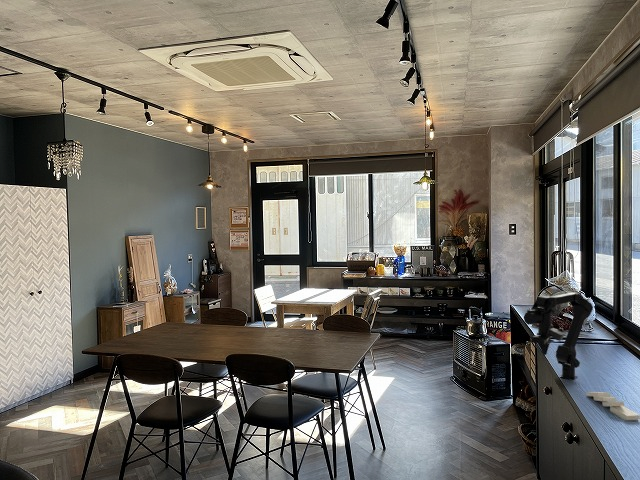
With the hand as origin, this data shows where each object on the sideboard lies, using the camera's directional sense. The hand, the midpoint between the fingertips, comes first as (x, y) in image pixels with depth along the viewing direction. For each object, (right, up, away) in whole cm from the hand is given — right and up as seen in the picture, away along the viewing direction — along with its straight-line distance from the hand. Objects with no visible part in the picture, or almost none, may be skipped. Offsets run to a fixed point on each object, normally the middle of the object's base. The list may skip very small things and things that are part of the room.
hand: (544, 354), depth 239 cm
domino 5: (+13, -14, -36) cm, 41 cm away
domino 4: (+12, -13, -38) cm, 41 cm away
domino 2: (+12, -13, -25) cm, 31 cm away
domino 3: (+12, -13, -32) cm, 37 cm away
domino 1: (+12, -13, -19) cm, 26 cm away
